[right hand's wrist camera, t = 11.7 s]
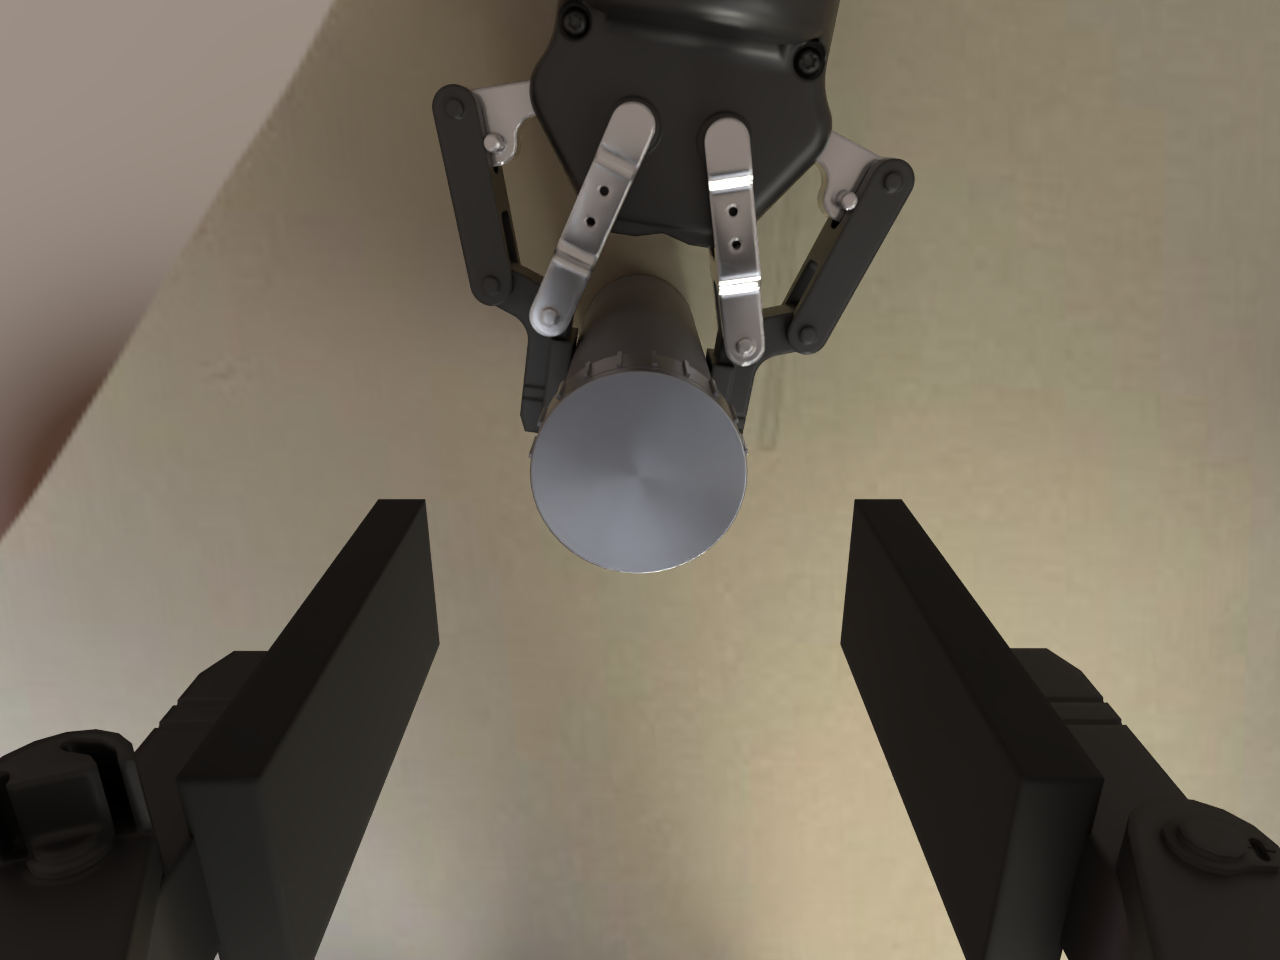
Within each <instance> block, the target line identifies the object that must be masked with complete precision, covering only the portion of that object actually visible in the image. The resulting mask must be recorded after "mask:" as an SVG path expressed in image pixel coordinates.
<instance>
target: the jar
mask: <svg viewBox="0 0 1280 960" xmlns="http://www.w3.org/2000/svg"><path fill="white" fill-rule="evenodd" d="M618 351H622V352H623V354H628V353H649V354H651V351H656V354H657V355H662V356H666V357H669V358H673V359H675V360H678V361H680V362H683V361H684V360H686V361H688V363H689V366H690V367H692V368H694V369H696V370H697V371H698V372H700V373H701V374H702V375H704V376H705V377H706V378H707V379H708V380H710V379H711V376H710V372H709V369H708V366H707V362H706V359H705V356H704V353H703V349H702V346H701V343H700V340H699V336H698V333H697V330H696V326H695V323H694V320H693V317H692V313H691V311H690V308H689V306H688V304H687V302H686V300H685V299H684V297H683V296H682V295H681V294H680V293H679V291H678V290H677V289H676V288H674V287H673V286H672V285H670V284H669V283H667V282H665V281H664V280H661V279H659V278H656V277H653V276H648V275H630V276H625V277H622V278H619V279H617V280H614V281H613V282H611V283H609V284H608V285H606V286H605V287H604V288H602V289H601V290H600V291H599V293H598V294H597V295H596V296H595V297H594V299H593V300H592V302H591V304H590V306H589V308H588V311H587V313H586V317H585V320H584V323H583V326H582V329H581V333H580V336H579V339H578V342H577V345H576V349H575V352H574V355H573V358H572V362H571V365H570V368H569V371H568V374H567V378H566V381H565V382H567V381H568V380H569V379H570V378H571V377H572V376H574V375H575V374H576V373H578V372H579V371H580V370H582V369H584V368H585V366H586V363H587V362H589V361H590V362H591V364H592V363H595V362H597V361H600V360H602V359H604V358H608V357H612V356H615V355H617V353H618Z"/></svg>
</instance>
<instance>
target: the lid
mask: <svg viewBox="0 0 1280 960" xmlns="http://www.w3.org/2000/svg"><path fill="white" fill-rule="evenodd" d="M737 423H739V421H738V418H737V416H736V413H735V410H734V407H733V405H732V404H730V405H728V404H727V402H726V400H725V398H724V397H723V395H722V394H721V393H720V392H719V390H718V389H717V386H716V383H715V381H714V380H713V379H712V378H711V379H710V380H708V379H707V378H706V377H705V376H704V375H702V374H701V373H700V372H698V371H697V370H696V369H694V368H692V367H690V366H689V363H688V361H686V360H684V361H683V362H680V361H678V360H675V359H673V358H669V357H666V356H662V355H657V354H656V351H651V354H649V353H628V354H623V352H622V351H618V353H617V355H615V356H612V357H608V358H604V359H602V360H600V361H597V362H595V363H592V364H591V362H590V361H589V362H587V363H586V366H585V368H584V369H582V370H580V371H579V372H578V373H576V374H575V375H574V376H572V377H571V378H570V379H569V380H568V381H567V382H564V381H562V382H561V383H560V385H559V388H558V392H557V393H556V395H555V396H554V397H553V399H552V401H551V402H550V404H549V406H548V408H547V407H544V408H543V410H542V413H541V416H540V418H539V421H538V424H537V426H539V427H540V429H539V431H538V434H537V436H535V439H534V441H533V444H532V447H531V450H530V453H529V457H530V458H531V464H530V480H531V488H532V493H533V497H534V500H535V503H536V506H537V509H538V511H539V513H540V515H541V517H542V519H543V521H544V522H545V524H546V525H547V527H548V528H549V530H550V531H551V532H552V533H553V535H554V536H555V537H556V538H557V539H558V540H559V541H560V542H561V543H562V544H563V545H564V546H565V547H567V548H568V549H569V550H570V551H572V552H573V553H575V554H576V555H578V556H579V557H580V558H582V559H584V560H586V561H588V562H590V563H592V564H594V565H597V566H600V567H603V568H605V569H610V570H614V571H618V572H626V573H651V572H659V571H664V570H668V569H672V568H675V567H677V566H680V565H683V564H685V563H687V562H689V561H691V560H693V559H695V558H697V557H698V556H700V555H701V554H703V553H704V552H706V551H707V550H709V549H710V548H711V547H712V546H713V545H714V544H715V543H716V542H718V541H719V539H720V538H721V537H722V536H723V535H724V534H725V533H726V532H727V530H728V529H729V527H730V526H731V524H732V523H733V521H734V520H735V518H736V516H737V513H738V511H739V509H740V507H741V504H742V501H743V498H744V495H745V489H746V486H747V461H746V454H748V450H747V447H746V444H745V441H744V438H743V435H742V433H739V430H738V427H737V425H736V424H737Z"/></svg>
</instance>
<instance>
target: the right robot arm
mask: <svg viewBox="0 0 1280 960" xmlns="http://www.w3.org/2000/svg"><path fill="white" fill-rule="evenodd" d="M439 644H440V643H439V633H438V623H437V613H436V603H435V593H434V583H433V572H432V562H431V552H430V542H429V532H428V522H427V512H426V502H425V499H378V501H377V502H376V503H375V505H374V506H373V508H372V509H371V510H370V512H369V513H368V514H367V516H366V517H365V519H364V520H363V521H362V523H361V524H360V525H359V527H358V528H357V530H356V531H355V532H354V534H353V535H352V536H351V538H350V539H349V541H348V542H347V543H346V545H345V546H344V547H343V549H342V550H341V552H340V553H339V554H338V556H337V557H336V558H335V560H334V561H333V563H332V564H331V565H330V567H329V568H328V569H327V571H326V572H325V573H324V575H323V576H322V578H321V579H320V580H319V582H318V583H317V584H316V586H315V587H314V589H313V590H312V591H311V593H310V594H309V595H308V597H307V598H306V600H305V601H304V602H303V604H302V605H301V606H300V608H299V609H298V611H297V612H296V613H295V615H294V616H293V617H292V619H291V620H290V622H289V623H288V624H287V626H286V627H285V628H284V630H283V631H282V633H281V634H280V635H279V637H278V638H277V639H276V641H275V642H274V644H273V645H272V646H271V648H270V649H269V650H268V651H233V652H232V653H230V654H229V655H227V656H226V657H224V658H223V659H221V660H220V661H218V662H217V663H215V664H214V665H212V666H210V667H209V668H207V669H206V670H204V671H203V672H201V673H200V674H199V675H198V676H197V677H196V679H195V680H194V681H193V682H192V683H191V685H190V686H189V687H188V688H187V689H186V691H185V692H184V693H183V694H182V695H181V697H180V698H179V699H178V703H177V705H173V706H172V708H171V709H170V710H169V711H168V712H167V714H166V715H165V716H164V717H163V718H162V720H161V721H160V722H159V728H154V729H153V731H152V732H151V733H150V734H149V735H148V737H147V738H146V739H145V740H144V741H143V743H142V744H141V745H140V746H139V748H138V749H137V750H136V751H135V752H134V750H133V746H132V743H130V742H129V741H128V740H127V739H125V738H124V737H123V736H122V735H120V734H119V733H114V732H109V731H103V730H97V729H94V730H83V731H72V732H65V733H62V734H58V735H54V736H51V737H47V738H44V739H40V740H37V741H34V742H32V743H30V744H27V745H25V746H23V747H21V748H19V749H17V750H15V751H13V752H10V753H8V754H6V755H4V756H2V757H1V758H0V960H214V958H215V957H216V955H217V953H218V954H219V958H220V960H314V959H315V956H316V953H317V951H318V948H319V946H320V943H321V941H322V938H323V936H324V933H325V931H326V928H327V926H328V923H329V921H330V918H331V916H332V913H333V911H334V908H335V906H336V903H337V901H338V898H339V896H340V893H341V891H342V888H343V886H344V883H345V881H346V878H347V876H348V873H349V871H350V868H351V866H352V863H353V860H354V858H355V855H356V853H357V850H358V848H359V845H360V843H361V840H362V838H363V835H364V833H365V830H366V828H367V825H368V823H369V820H370V818H371V815H372V813H373V810H374V808H375V805H376V803H377V800H378V798H379V795H380V793H381V790H382V788H383V785H384V783H385V780H386V778H387V775H388V773H389V770H390V767H391V765H392V762H393V760H394V757H395V755H396V752H397V750H398V747H399V745H400V742H401V740H402V737H403V735H404V732H405V730H406V727H407V725H408V722H409V720H410V717H411V715H412V712H413V710H414V707H415V705H416V702H417V700H418V697H419V695H420V692H421V690H422V687H423V685H424V682H425V680H426V677H427V674H428V672H429V669H430V667H431V664H432V662H433V659H434V657H435V654H436V652H437V649H438V647H439ZM840 644H841V647H842V649H843V652H844V654H845V657H846V659H847V662H848V664H849V667H850V669H851V672H852V674H853V677H854V680H855V682H856V685H857V687H858V690H859V692H860V695H861V697H862V700H863V702H864V705H865V707H866V710H867V712H868V715H869V717H870V720H871V722H872V725H873V727H874V730H875V732H876V735H877V737H878V740H879V742H880V745H881V747H882V750H883V752H884V755H885V757H886V760H887V762H888V765H889V767H890V770H891V773H892V775H893V778H894V780H895V783H896V785H897V788H898V790H899V793H900V795H901V798H902V800H903V803H904V805H905V808H906V810H907V813H908V815H909V818H910V820H911V823H912V825H913V828H914V830H915V833H916V835H917V838H918V840H919V843H920V845H921V848H922V850H923V853H924V855H925V858H926V860H927V863H928V866H929V868H930V871H931V873H932V876H933V878H934V881H935V883H936V886H937V888H938V891H939V893H940V896H941V898H942V901H943V903H944V906H945V908H946V911H947V913H948V916H949V918H950V921H951V923H952V926H953V928H954V931H955V933H956V936H957V938H958V941H959V943H960V946H961V948H962V951H963V953H964V956H965V959H966V960H1060V958H1061V954H1062V950H1064V952H1065V954H1066V956H1067V958H1068V960H1280V848H1279V846H1278V845H1277V844H1275V843H1274V842H1273V841H1272V840H1271V839H1269V838H1268V837H1267V836H1266V835H1264V834H1263V833H1262V832H1261V831H1260V830H1258V829H1257V828H1256V827H1255V826H1253V825H1252V824H1250V823H1248V822H1246V821H1244V820H1242V819H1240V818H1238V817H1237V816H1235V815H1233V814H1231V813H1229V812H1227V811H1225V810H1223V809H1220V808H1217V807H1214V806H1211V805H1207V804H1204V803H1201V802H1198V801H1195V800H1189V799H1187V798H1186V796H1185V795H1184V794H1183V793H1182V792H1181V790H1180V789H1179V788H1178V787H1177V786H1176V784H1175V783H1174V782H1173V781H1172V780H1171V778H1170V777H1169V776H1168V775H1167V774H1166V772H1165V771H1164V770H1163V769H1162V768H1161V766H1160V765H1159V764H1158V763H1157V762H1156V760H1155V759H1154V758H1153V757H1152V756H1151V754H1150V753H1149V752H1148V751H1147V750H1146V748H1145V747H1144V746H1143V745H1142V744H1141V742H1140V741H1139V740H1138V739H1137V737H1136V736H1135V735H1134V734H1133V733H1132V731H1131V730H1130V729H1129V728H1128V727H1127V725H1122V723H1121V718H1120V717H1119V716H1118V715H1117V713H1116V712H1115V711H1114V710H1113V709H1112V707H1111V706H1110V705H1109V704H1108V703H1104V702H1103V697H1102V695H1101V694H1100V693H1099V692H1098V691H1097V689H1096V688H1095V687H1094V686H1093V685H1092V683H1091V682H1090V681H1089V680H1088V679H1087V677H1086V676H1085V675H1084V674H1083V673H1082V671H1080V670H1079V669H1077V668H1076V667H1074V666H1073V665H1071V664H1070V663H1068V662H1067V661H1065V660H1064V659H1062V658H1061V657H1059V656H1058V655H1056V654H1054V653H1053V652H1051V651H1050V650H1048V649H1047V648H1009V646H1008V645H1007V644H1006V642H1005V641H1004V639H1003V638H1002V637H1001V635H1000V634H999V633H998V631H997V630H996V628H995V627H994V626H993V624H992V623H991V622H990V620H989V619H988V617H987V616H986V615H985V613H984V612H983V611H982V609H981V608H980V606H979V605H978V604H977V602H976V601H975V600H974V598H973V597H972V595H971V594H970V593H969V591H968V590H967V589H966V587H965V586H964V584H963V583H962V582H961V580H960V579H959V578H958V576H957V575H956V573H955V572H954V571H953V569H952V568H951V567H950V565H949V564H948V563H947V561H946V560H945V558H944V557H943V556H942V554H941V553H940V552H939V550H938V549H937V547H936V546H935V545H934V543H933V542H932V541H931V539H930V538H929V536H928V535H927V534H926V532H925V531H924V530H923V528H922V527H921V525H920V524H919V523H918V521H917V520H916V519H915V517H914V516H913V514H912V513H911V512H910V510H909V509H908V508H907V506H906V505H905V503H904V502H903V501H902V499H855V502H854V512H853V522H852V532H851V542H850V552H849V562H848V572H847V583H846V593H845V603H844V613H843V623H842V633H841V643H840Z"/></svg>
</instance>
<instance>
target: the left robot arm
mask: <svg viewBox="0 0 1280 960" xmlns="http://www.w3.org/2000/svg"><path fill="white" fill-rule="evenodd" d="M839 2H840V0H558V2H557V11H556V20H555V26H554V30H553V34H552V37H551V40H550V42H549V44H548V46H547V48H546V50H545V52H544V54H543V55H542V57H541V58H540V60H539V61H538V62H537V64H536V66H535V68H534V70H533V72H532V75H531V79H530V80H528V81H522V82H516V83H509V84H503V85H497V86H491V87H485V88H479V89H469V88H466V87H463V86H460V85H456V84H450V85H446V86H444V87H442V88H441V89H439V90H438V92H437V93H436V94H435V96H434V99H433V104H432V109H433V115H434V119H435V124H436V129H437V133H438V138H439V143H440V147H441V152H442V157H443V161H444V166H445V171H446V175H447V180H448V185H449V189H450V194H451V199H452V203H453V208H454V212H455V217H456V222H457V226H458V231H459V236H460V240H461V245H462V250H463V254H464V259H465V264H466V268H467V273H468V278H469V282H470V287H471V290H472V293H473V295H474V296H475V298H476V299H477V300H478V301H480V302H481V303H483V304H485V305H489V306H497V307H499V308H500V309H502V310H504V311H506V312H508V313H510V314H512V315H513V316H515V317H517V318H518V319H519V320H520V321H521V322H522V323H523V325H524V326H525V328H526V331H527V334H528V347H527V356H526V366H525V375H524V385H523V393H522V403H521V412H520V416H521V419H522V423H523V426H524V430H525V431H528V432H535V433H538V431H539V429H540V427H539V426H537V424H538V421H539V418H540V416H541V413H542V410H543V408H544V407H547V408H548V406H549V404H550V402H551V401H552V399H553V397H554V396H555V395H556V393H557V392H558V388H559V385H560V383H561V382H562V381H564V382H565V381H566V378H567V374H568V371H569V368H570V365H571V362H572V358H573V355H574V352H575V349H576V342H577V334H578V328H573V327H572V325H573V317H574V312H575V310H576V307H577V305H578V303H579V301H580V298H581V296H582V294H583V292H584V289H585V287H586V285H587V283H588V280H589V278H590V276H591V274H592V272H593V270H594V267H595V265H596V263H597V261H598V259H599V256H600V254H601V252H602V250H603V247H604V245H605V243H606V241H607V238H608V236H609V234H610V232H611V233H618V234H624V235H630V236H641V235H650V234H658V233H664V234H667V235H669V236H671V237H673V238H675V239H678V240H680V241H682V242H684V243H686V244H689V245H694V246H700V247H707V248H708V254H709V263H710V271H711V276H712V282H713V291H714V300H715V309H716V318H717V327H718V332H717V338H716V343H715V348H714V349H708V348H707V353H706V362H707V366H708V369H709V372H710V376H711V378H712V379H713V380H714V381H715V383H716V386H717V389H718V390H719V392H720V393H721V394H722V395H723V397H724V398H725V400H726V402H727V404H728V405H730V404H732V405H733V407H734V410H735V413H736V416H737V418H738V421H739V423H737V424H736V425H737V427H738V430H739V433H742V434H743V429H744V425H745V420H746V415H747V410H748V405H749V400H750V395H751V390H752V385H753V381H754V376H755V373H756V371H757V369H758V367H759V366H760V365H761V363H762V362H764V361H765V360H766V359H768V358H770V357H773V356H776V355H781V354H786V353H792V352H798V353H800V354H813V353H816V352H817V351H819V350H820V349H821V348H822V347H823V346H824V345H825V343H826V342H827V340H828V338H829V336H830V335H831V333H832V331H833V329H834V327H835V326H836V324H837V322H838V320H839V319H840V317H841V315H842V313H843V312H844V310H845V308H846V306H847V304H848V303H849V301H850V299H851V297H852V296H853V294H854V292H855V290H856V288H857V287H858V285H859V283H860V281H861V280H862V278H863V276H864V274H865V273H866V271H867V269H868V267H869V265H870V264H871V262H872V260H873V258H874V257H875V255H876V253H877V251H878V249H879V248H880V246H881V244H882V242H883V241H884V239H885V237H886V235H887V234H888V232H889V230H890V228H891V226H892V225H893V223H894V221H895V219H896V218H897V216H898V214H899V212H900V211H901V209H902V207H903V205H904V203H905V202H906V200H907V198H908V196H909V195H910V193H911V191H912V189H913V186H914V181H915V177H914V172H913V170H912V168H911V166H910V165H909V164H908V163H907V162H905V161H904V160H901V159H896V158H893V157H880V156H878V155H876V154H875V153H873V152H871V151H869V150H867V149H865V148H863V147H862V146H860V145H858V144H856V143H854V142H852V141H850V140H849V139H847V138H845V137H843V136H841V135H839V134H837V133H836V132H834V131H832V117H831V112H830V109H829V106H828V102H827V98H826V91H825V72H826V65H827V60H828V55H829V50H830V45H831V41H832V36H833V31H834V26H835V21H836V16H837V12H838V7H839ZM535 117H537V119H538V121H539V123H540V124H541V126H542V128H543V130H544V132H545V134H546V136H547V138H548V140H549V142H550V144H551V146H552V148H553V150H554V152H555V154H556V156H557V157H558V159H559V161H560V163H561V165H562V167H563V169H564V171H565V173H566V175H567V177H568V179H569V181H570V183H571V185H572V187H573V189H574V191H575V192H576V194H577V196H578V197H577V200H576V202H575V204H574V207H573V209H572V211H571V214H570V216H569V218H568V221H567V223H566V225H565V228H564V230H563V232H562V235H561V237H560V239H559V242H558V244H557V247H556V249H555V252H554V255H553V257H552V260H551V262H550V264H549V267H548V269H547V271H546V274H545V276H544V277H543V276H541V275H539V274H537V273H535V272H533V271H532V270H530V269H528V268H526V267H524V266H522V265H521V263H520V258H519V253H518V248H517V243H516V238H515V232H514V227H513V222H512V217H511V212H510V206H509V201H508V196H507V191H506V186H505V180H504V175H503V170H502V165H507V164H509V163H511V162H513V161H514V160H515V159H516V158H517V156H518V155H519V153H520V149H521V132H522V129H523V127H524V126H525V124H526V123H527V122H528V121H529V120H531V119H532V118H535ZM813 164H815V165H816V166H817V167H818V168H819V171H820V173H821V178H822V183H821V187H820V190H819V193H818V199H817V201H818V206H819V209H820V210H821V212H822V213H823V214H824V215H825V216H827V217H828V219H827V221H826V223H825V225H824V227H823V228H822V230H821V232H820V234H819V236H818V238H817V240H816V241H815V243H814V245H813V247H812V249H811V251H810V253H809V254H808V256H807V258H806V260H805V262H804V264H803V266H802V268H801V269H800V271H799V273H798V275H797V277H796V279H795V281H794V282H793V284H792V286H791V288H790V290H789V292H788V294H787V295H786V297H785V299H784V301H783V303H782V305H780V306H775V307H770V308H765V309H762V303H761V292H760V285H761V270H760V258H759V247H758V236H757V225H756V221H757V220H758V219H759V218H760V217H761V216H762V215H763V214H764V213H765V212H766V211H767V210H768V209H769V208H770V207H771V206H772V205H773V204H774V203H775V202H776V201H777V200H778V199H779V198H780V197H781V196H782V195H783V194H784V193H785V192H786V191H787V190H788V189H789V188H790V187H791V186H792V185H793V184H794V183H795V182H796V181H797V180H798V179H799V178H800V177H801V176H802V175H803V174H804V173H805V172H806V171H807V170H808V169H809V168H810V167H811V166H812V165H813Z"/></svg>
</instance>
